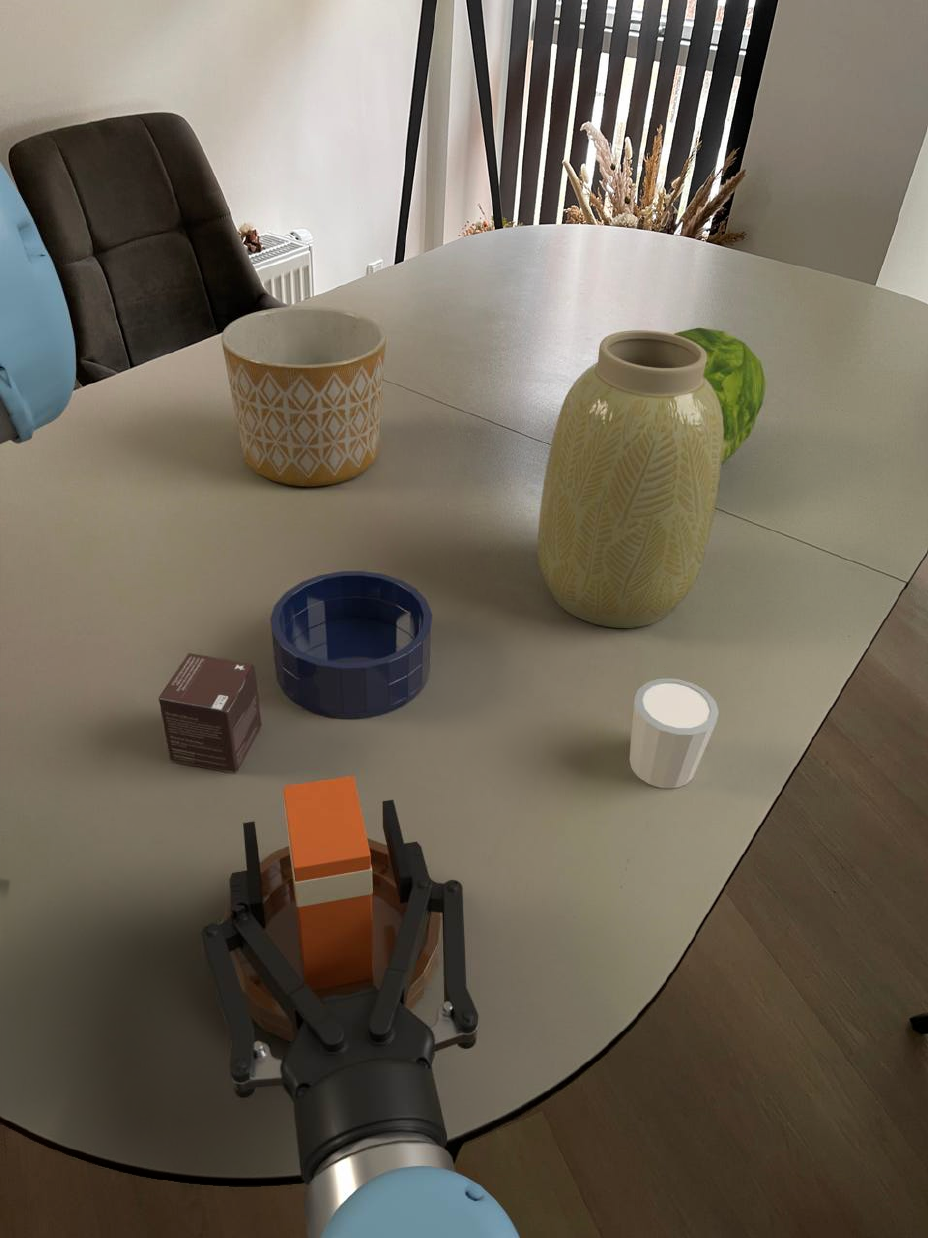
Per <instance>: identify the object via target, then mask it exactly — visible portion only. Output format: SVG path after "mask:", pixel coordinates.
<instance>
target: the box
mask: <svg viewBox="0 0 928 1238" xmlns="http://www.w3.org/2000/svg"><path fill="white" fill-rule="evenodd" d="M255 665H256V664H254V663H252V662H251V663H250V662H245V661H240V660H233V659H226V658H221V657H215V656H209V655H204V654H197V653H191V652H189V653H188V654H187V655H186V656H185V658H184V659H183V661H182V662H181V663H180V665H179V666H178V668H177V670H176V671H175V673H174V674H173V675H172V677H171V678H170V680H169V681H168V683H167V684H166V686H165V687H164V689H163V690H162V691H161V693H160V694H159V696H158V698H157V700H158V703H159V707H160V713H161V719H162V724H163V730H164V735H165V740H166V745H167V750H168V756H169V761H171V762H172V763H176V764H183V765H188V766H195V767H201V768H207V769H211V770H215V771H216V770H217V771H222V772H225V773H231V774H234V773H235V774H236V773H238V771H239V769H240V767H241V765H242V764H243V762H244V759H245V758H246V756H247V754H248V752H249V751H250V749H251V747H252V745H253V743H254V741H255V739H256V737H257V735H258V733H259V731H260V729H261V727H262V725H263V724H262V717H261V709H260V700H259V691H258V683H257V682H258V681H257V674H256V668H255V667H256V666H255Z"/></svg>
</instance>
